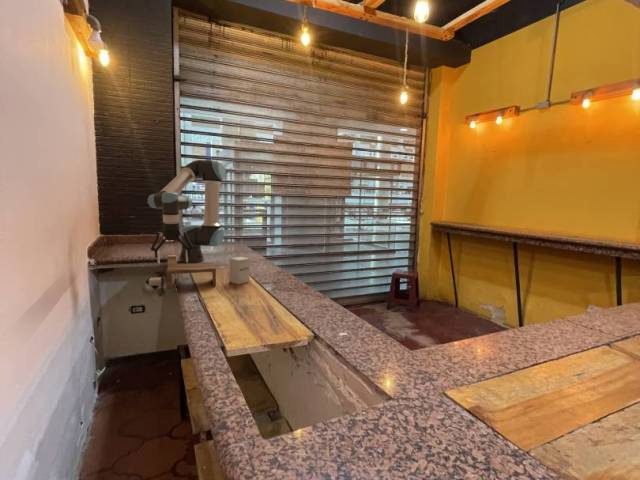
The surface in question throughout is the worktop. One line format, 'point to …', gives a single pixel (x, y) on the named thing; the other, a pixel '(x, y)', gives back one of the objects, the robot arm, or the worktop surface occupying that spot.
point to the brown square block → (155, 281)
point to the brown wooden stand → (189, 270)
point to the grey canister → (239, 270)
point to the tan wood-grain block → (172, 260)
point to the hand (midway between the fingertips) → (173, 262)
